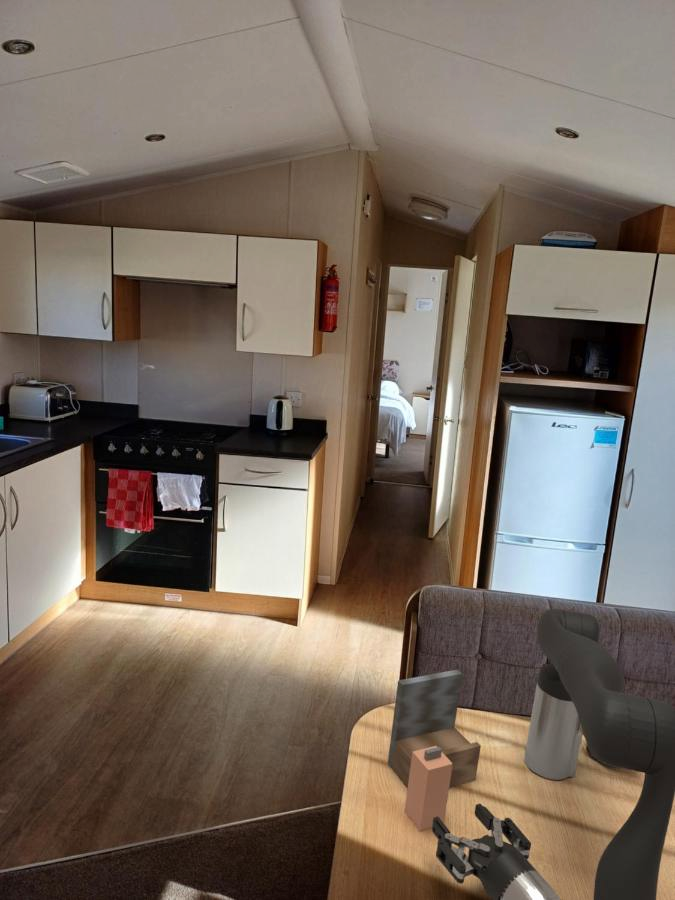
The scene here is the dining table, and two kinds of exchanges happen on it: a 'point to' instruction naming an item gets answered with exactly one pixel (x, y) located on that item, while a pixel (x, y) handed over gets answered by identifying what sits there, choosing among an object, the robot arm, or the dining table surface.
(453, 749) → the grey brown l-shaped block
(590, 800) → the dining table surface
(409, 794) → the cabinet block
